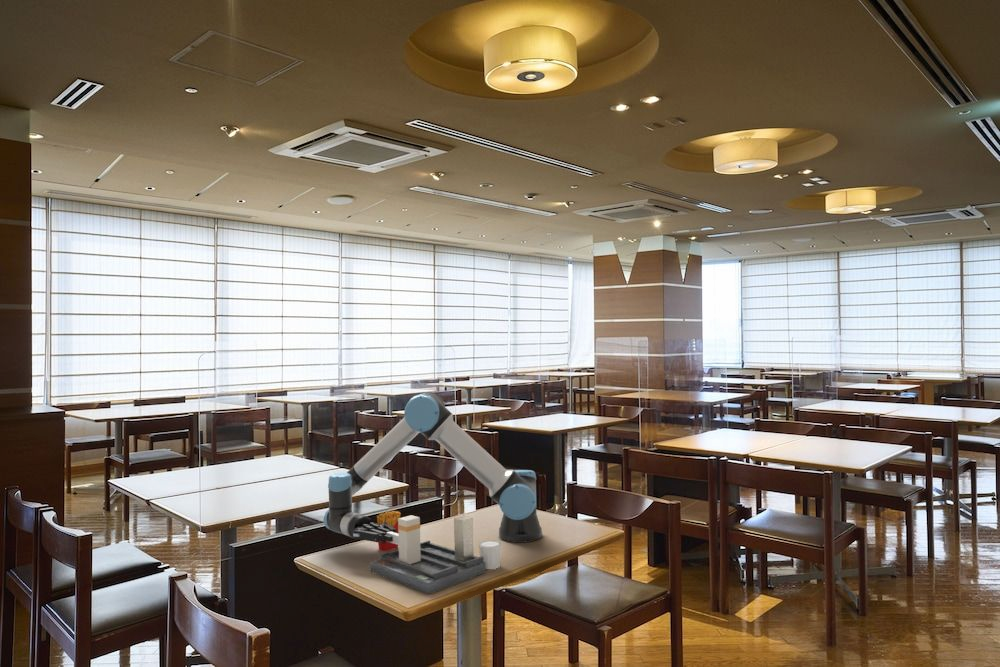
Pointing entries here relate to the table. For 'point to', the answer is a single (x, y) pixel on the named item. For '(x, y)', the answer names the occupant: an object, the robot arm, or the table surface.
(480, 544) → the white short cylinder
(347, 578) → the table surface
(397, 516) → the french fries
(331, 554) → the table surface
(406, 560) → the handle
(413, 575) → the breaker panel
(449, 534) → the table surface
